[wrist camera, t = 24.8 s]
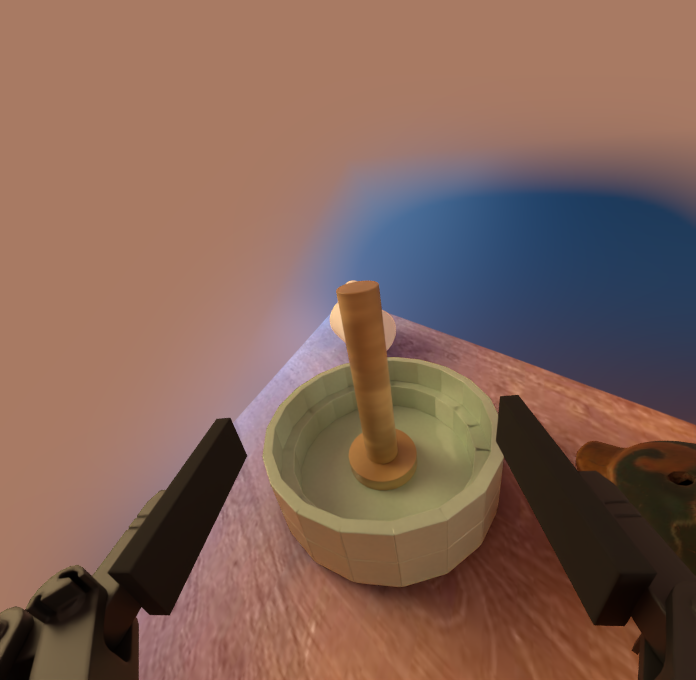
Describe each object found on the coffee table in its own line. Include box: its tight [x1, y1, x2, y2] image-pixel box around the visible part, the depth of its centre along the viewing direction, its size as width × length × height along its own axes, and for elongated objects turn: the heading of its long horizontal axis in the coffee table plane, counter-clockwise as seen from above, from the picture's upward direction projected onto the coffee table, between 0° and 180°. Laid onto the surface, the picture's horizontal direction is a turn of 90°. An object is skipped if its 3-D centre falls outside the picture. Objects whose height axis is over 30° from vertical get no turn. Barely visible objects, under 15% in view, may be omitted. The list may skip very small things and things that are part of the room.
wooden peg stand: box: [336, 281, 417, 490], centre depth 23 cm, size 6×6×17 cm
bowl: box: [262, 357, 504, 587], centre depth 25 cm, size 20×20×6 cm
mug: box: [330, 281, 396, 351], centre depth 48 cm, size 8×10×12 cm
